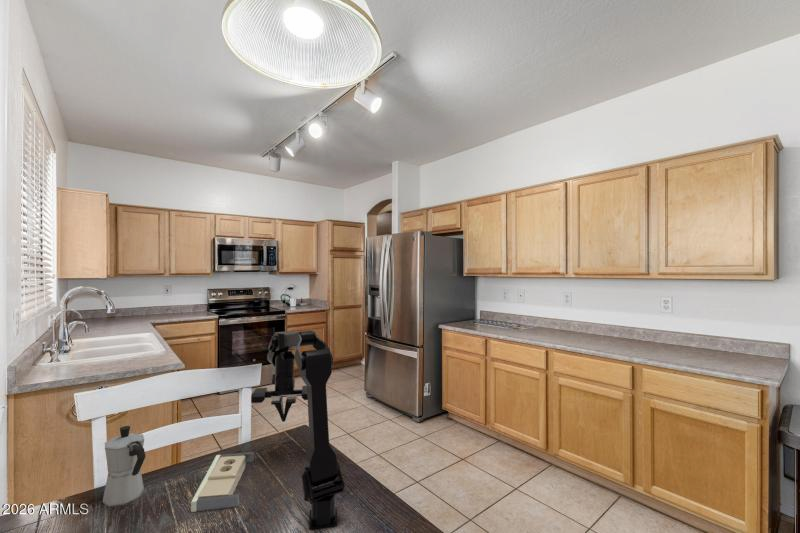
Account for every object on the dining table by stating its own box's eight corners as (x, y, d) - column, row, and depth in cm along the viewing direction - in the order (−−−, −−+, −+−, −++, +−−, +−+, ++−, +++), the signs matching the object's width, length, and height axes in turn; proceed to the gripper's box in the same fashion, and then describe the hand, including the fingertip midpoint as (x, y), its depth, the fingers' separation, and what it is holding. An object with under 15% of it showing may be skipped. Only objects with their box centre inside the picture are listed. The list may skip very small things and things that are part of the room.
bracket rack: (237, 506, 92) (237, 496, 92) (190, 512, 90) (191, 501, 90) (253, 459, 115) (253, 451, 115) (216, 463, 112) (216, 455, 112)
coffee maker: (91, 497, 95) (92, 428, 95) (129, 480, 103) (130, 416, 103) (121, 517, 88) (123, 441, 88) (160, 496, 96) (161, 427, 96)
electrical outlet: (197, 493, 92) (220, 456, 109) (197, 509, 92) (220, 470, 109) (227, 490, 93) (245, 454, 111) (227, 506, 93) (245, 468, 111)
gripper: (315, 363, 125) (314, 409, 125) (257, 365, 121) (256, 413, 121) (315, 373, 114) (314, 423, 114) (251, 375, 110) (250, 427, 110)
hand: (283, 421), depth 115 cm, fingers closed
